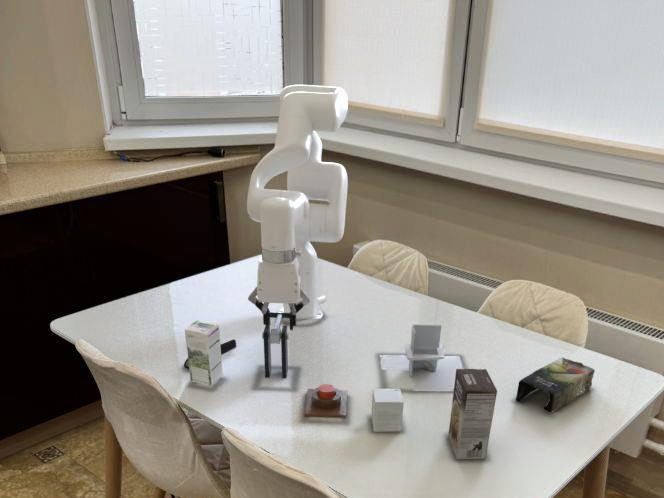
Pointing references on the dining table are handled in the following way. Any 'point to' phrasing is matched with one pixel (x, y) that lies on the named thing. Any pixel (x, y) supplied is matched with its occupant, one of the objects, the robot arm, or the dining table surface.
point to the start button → (326, 391)
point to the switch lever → (277, 326)
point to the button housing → (326, 404)
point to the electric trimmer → (224, 348)
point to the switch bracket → (268, 350)
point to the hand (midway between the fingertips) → (279, 327)
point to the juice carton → (558, 382)
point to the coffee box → (471, 413)
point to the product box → (387, 410)
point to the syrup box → (204, 352)
